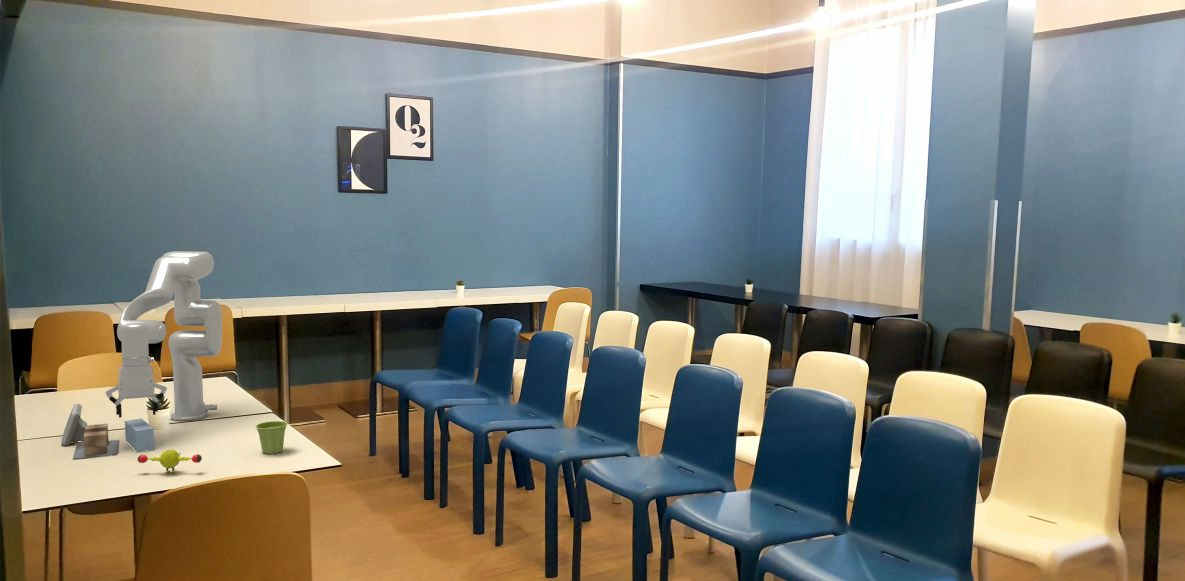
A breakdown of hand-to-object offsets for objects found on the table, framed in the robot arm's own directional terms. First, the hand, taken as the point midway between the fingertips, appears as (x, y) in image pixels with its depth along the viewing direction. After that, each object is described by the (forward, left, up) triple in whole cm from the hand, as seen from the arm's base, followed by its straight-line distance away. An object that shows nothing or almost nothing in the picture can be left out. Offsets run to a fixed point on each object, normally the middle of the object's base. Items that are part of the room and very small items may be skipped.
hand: (137, 415), depth 282 cm
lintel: (0, -1, -10) cm, 10 cm away
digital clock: (+19, -17, -10) cm, 28 cm away
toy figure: (-8, +35, -10) cm, 38 cm away
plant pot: (-37, +25, -10) cm, 46 cm away
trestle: (+12, -1, -10) cm, 15 cm away
